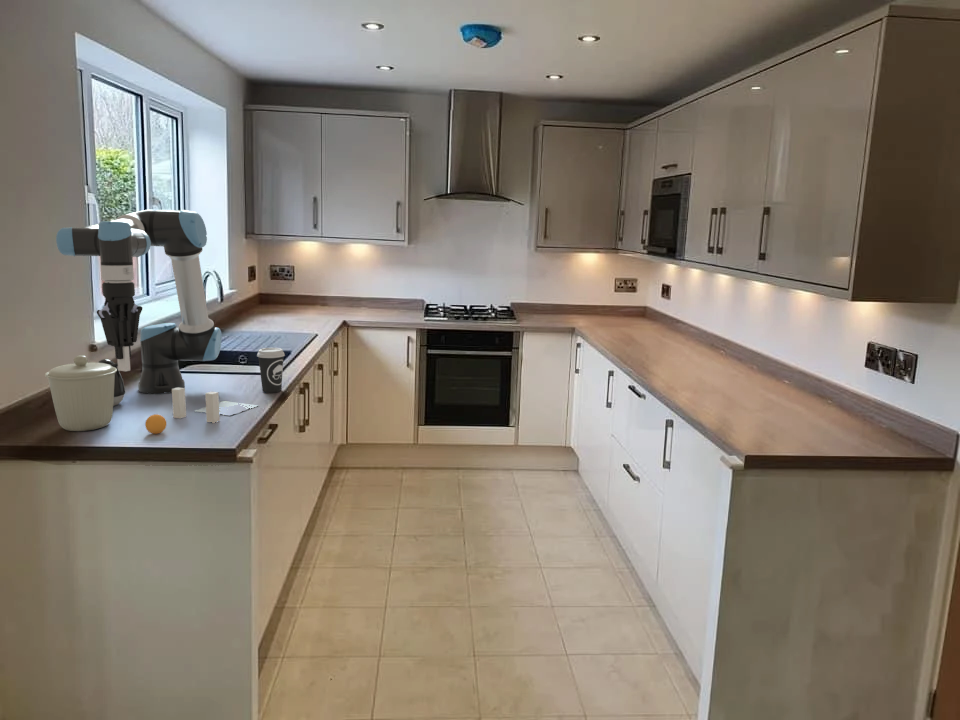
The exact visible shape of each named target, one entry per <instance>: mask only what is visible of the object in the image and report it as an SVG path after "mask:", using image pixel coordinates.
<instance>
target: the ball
mask: <svg viewBox="0 0 960 720" xmlns="http://www.w3.org/2000/svg"><path fill="white" fill-rule="evenodd" d="M144 425H145V429H146V431H147V432H149V433H150V434H153V435H157V434H161V433H162V432H164V431H165V430H166V427H167V420H166V418H165V417H164V416H163V415H161V414H158V413H157V414H152V415H149V416H148V417H147V419H146V420H145V423H144Z"/></svg>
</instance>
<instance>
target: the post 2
mask: <svg viewBox="0 0 960 720" xmlns="http://www.w3.org/2000/svg"><path fill="white" fill-rule="evenodd" d="M219 397H220V396H219V392H218V391H209V392H205V397H204V398H205V407H206V413H205V415H206V416H205V417H206V423H207V422H212V423H211V424H216V423H218V422H217V421H219V422H221V421H220V419H221V417H220V416H221V415H219V402H220V401H219V400H220V399H219ZM215 422H216V423H215Z"/></svg>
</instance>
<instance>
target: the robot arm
mask: <svg viewBox="0 0 960 720" xmlns="http://www.w3.org/2000/svg"><path fill="white" fill-rule="evenodd" d="M207 235H208V233H207V227H206V224H205V221H204V220H203V217H202V216H201V214H200V213H198V212H196V211H194V210H186V209H145V210H144V209H143V210H139V211H134V212H130V213H126V214H122V215H119V216H118V217H117V218H115V220H110V221H109V220H108V221H106V220H103V221H102V220H101V221H100V222H99V223H96V224H92V225H86V226H83V227H82V226H81V227H73V226H70V227H62V228H59V230H58V231H57V233H56V237H55V242H56V248H57V250H58V251H59V253H60V254H61V255H64V256H71V257H100V259H99V260H100V271H101V273H100V275H101V280H102V281H104V282H102V284H101V288H102V296H103V297H104V298H105V300H104V303H103V308H101V309H97V310H96V315H97V316H98V317H99V319H100V322H101V326H102V330H103V333H104V336H105V340H106V344H107V345H108V346H110V347H113V348H114V352H115V355H114V357H115V359H117V363H118V367H117V368H118V371H119V372H130V371H131V359H130V358H131V357H132V352H131V351H132V350H131V347H133V346H134V345H135V343H136V342H137V341H138V333H139V324H140V318H141V317H140V316H141V314H142V312H143V307H142V306H141V305H137V304H136V303H135V300H134V296H135V295H136V289H135V288H136V287H135V283H134V282H133V280H135V279H134V278H135V277H134V276H135V275H134V261H133V259H134V258H135V257H136V258H139V257H142V256H144V255H146V254H147V253H148V252H149V250H150V249H151V247H162V248H163V249H164V255H166V256H168V257H169V258H170V259H171V266H172V271H173V277H174V282H175V288H176V293H177V299H178V305H179V311H180V317H181V322H180V323H179V324H178V327H177V324H176V323H175V322H165V323H158V324H152V325H148V326H144V327H142V328H141V330H140V340H139V342H140V353H141V364H142V369H141V373H140V379H139V382H138V385H137V387H138V388H137V389H138V391H139V392H140V393H143V394H149V395H151V394H152V395H154V394H155V395H156V394H157V395H158V394H160V395H161V394H172V389H174V388H177V387H179V388H185V389H186V385H185V380H184V379H183V376H182V373H181V371H180V367H179V361H191V362H193V361H196V362H197V361H199V362H201V361H202V362H205V361H214V360H216V359H217V358H219V357H218V356H219V354H220V351H221V347H222V339H223V338H222V336H223V335H222V330H221V328H219V327H215V323H214V320H212V319H211V318H209V314H208V313H209V312H208V308H207V301H206V295H205V289H204V282H203V281H204V280H203V276H202V269H201V262H200V255H201V253H202V252H203V248H204V247H205V246H206V245H207V243H208V242H207V240H208V237H207Z"/></svg>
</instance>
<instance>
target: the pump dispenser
mask: <svg viewBox="0 0 960 720" xmlns="http://www.w3.org/2000/svg"><path fill="white" fill-rule="evenodd" d="M96 363H105V364H109V365H111V366H112V367H115V368H116V369H117V372H116V373H115V380H114V402H113V407H115V406H117V405H119V404H121V403H122V401H123V399H124V397H125V394H126V389H125V385H124V379H123V378H122V375H121V373H120V372H121V371H118V362H114V361H112V360H111V359H109V358H102V359H100V360H98V361H97V362H96Z"/></svg>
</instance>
